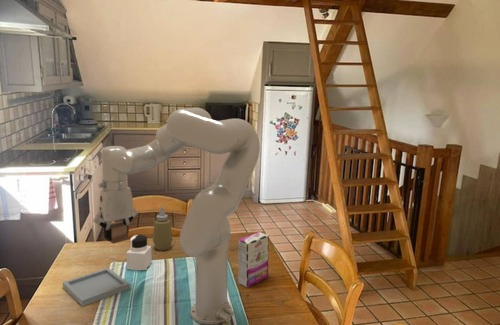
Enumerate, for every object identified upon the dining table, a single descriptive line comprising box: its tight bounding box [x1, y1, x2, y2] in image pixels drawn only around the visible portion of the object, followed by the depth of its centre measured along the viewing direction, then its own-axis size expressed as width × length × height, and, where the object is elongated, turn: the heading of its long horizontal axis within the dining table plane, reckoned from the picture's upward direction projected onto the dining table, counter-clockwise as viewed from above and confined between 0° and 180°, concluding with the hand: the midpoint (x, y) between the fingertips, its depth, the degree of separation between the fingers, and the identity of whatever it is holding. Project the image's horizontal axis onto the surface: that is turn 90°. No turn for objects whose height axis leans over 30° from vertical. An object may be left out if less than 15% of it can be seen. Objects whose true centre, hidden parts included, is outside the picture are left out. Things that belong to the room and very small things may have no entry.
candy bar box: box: [237, 231, 270, 288], centre depth 140 cm, size 11×5×16 cm, turn 136°
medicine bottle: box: [125, 234, 153, 271], centre depth 149 cm, size 7×7×12 cm
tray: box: [62, 267, 131, 307], centre depth 133 cm, size 16×16×2 cm
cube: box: [109, 221, 128, 244], centre depth 130 cm, size 5×5×5 cm
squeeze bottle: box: [152, 206, 173, 251], centre depth 166 cm, size 8×8×18 cm
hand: (116, 237), depth 130 cm, fingers closed on cube, 5 cm apart
